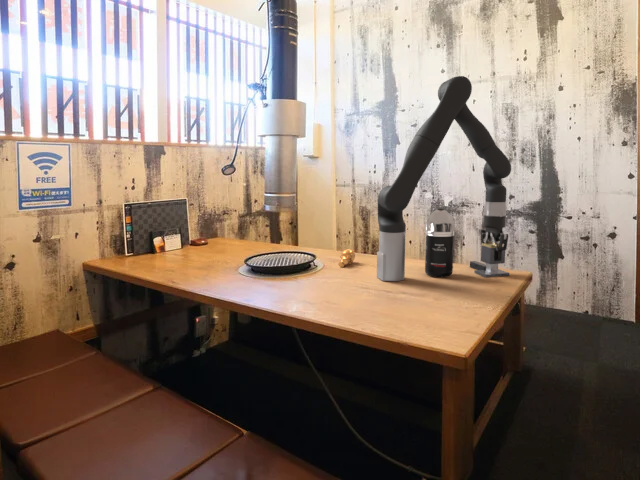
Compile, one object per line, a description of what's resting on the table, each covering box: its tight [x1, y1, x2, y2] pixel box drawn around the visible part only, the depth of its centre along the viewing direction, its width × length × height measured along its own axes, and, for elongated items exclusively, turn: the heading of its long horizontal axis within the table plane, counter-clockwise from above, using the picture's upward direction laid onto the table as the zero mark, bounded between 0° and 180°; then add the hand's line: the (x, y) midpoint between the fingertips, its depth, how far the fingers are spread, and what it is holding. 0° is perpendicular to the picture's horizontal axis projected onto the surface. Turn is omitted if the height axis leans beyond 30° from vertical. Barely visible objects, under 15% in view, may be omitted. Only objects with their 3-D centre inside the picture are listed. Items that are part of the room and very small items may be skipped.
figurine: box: [338, 248, 356, 268], centre depth 185 cm, size 8×6×12 cm
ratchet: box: [469, 260, 510, 278], centre depth 170 cm, size 10×16×6 cm, turn 12°
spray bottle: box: [424, 207, 456, 278], centre depth 164 cm, size 10×10×25 cm
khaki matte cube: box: [480, 242, 506, 265], centre depth 165 cm, size 6×6×7 cm
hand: (492, 259), depth 165 cm, fingers closed on khaki matte cube, 6 cm apart
